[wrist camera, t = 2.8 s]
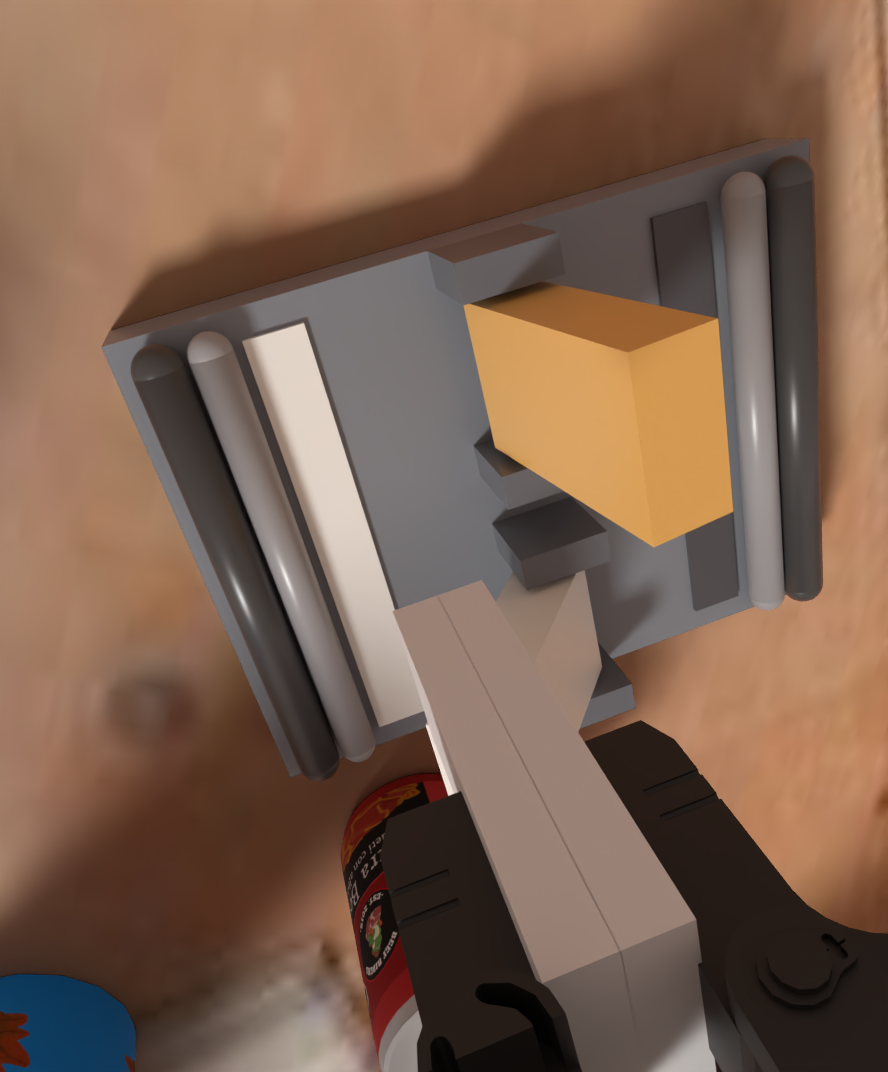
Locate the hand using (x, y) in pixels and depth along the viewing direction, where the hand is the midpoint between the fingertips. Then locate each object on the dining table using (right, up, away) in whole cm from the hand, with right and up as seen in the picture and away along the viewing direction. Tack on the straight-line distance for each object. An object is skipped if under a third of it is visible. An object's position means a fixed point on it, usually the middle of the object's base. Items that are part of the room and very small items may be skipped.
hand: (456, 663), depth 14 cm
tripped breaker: (+2, +8, +14) cm, 16 cm away
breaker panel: (+2, +5, +19) cm, 20 cm away
